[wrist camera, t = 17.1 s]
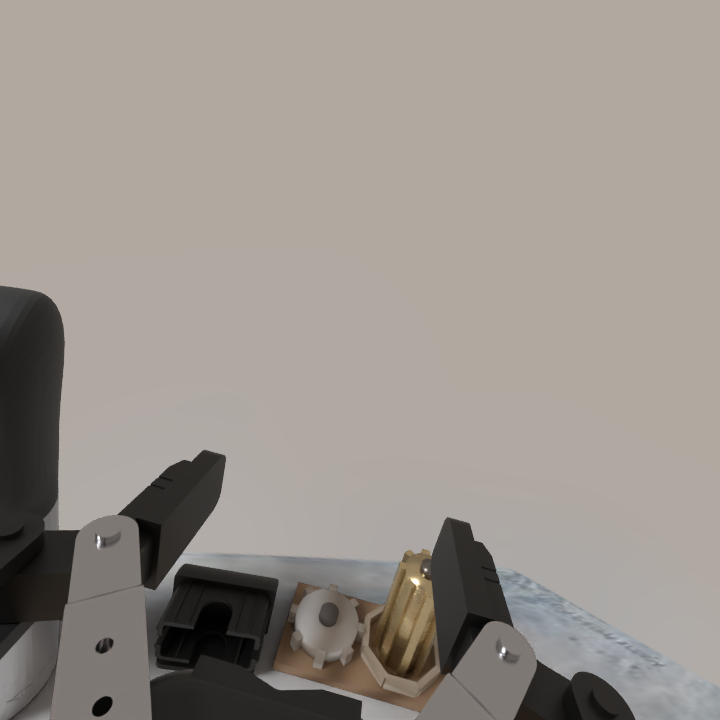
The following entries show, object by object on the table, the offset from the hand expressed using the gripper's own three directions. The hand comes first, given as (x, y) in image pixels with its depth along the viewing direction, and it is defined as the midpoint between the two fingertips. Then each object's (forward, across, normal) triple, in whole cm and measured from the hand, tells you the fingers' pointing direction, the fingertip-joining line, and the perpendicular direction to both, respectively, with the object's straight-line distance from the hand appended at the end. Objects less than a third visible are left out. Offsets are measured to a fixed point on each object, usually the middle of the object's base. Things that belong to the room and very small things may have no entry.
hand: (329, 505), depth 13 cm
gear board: (+19, -11, +32) cm, 39 cm away
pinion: (+19, -11, +31) cm, 38 cm away
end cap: (+16, +8, +32) cm, 37 cm away
